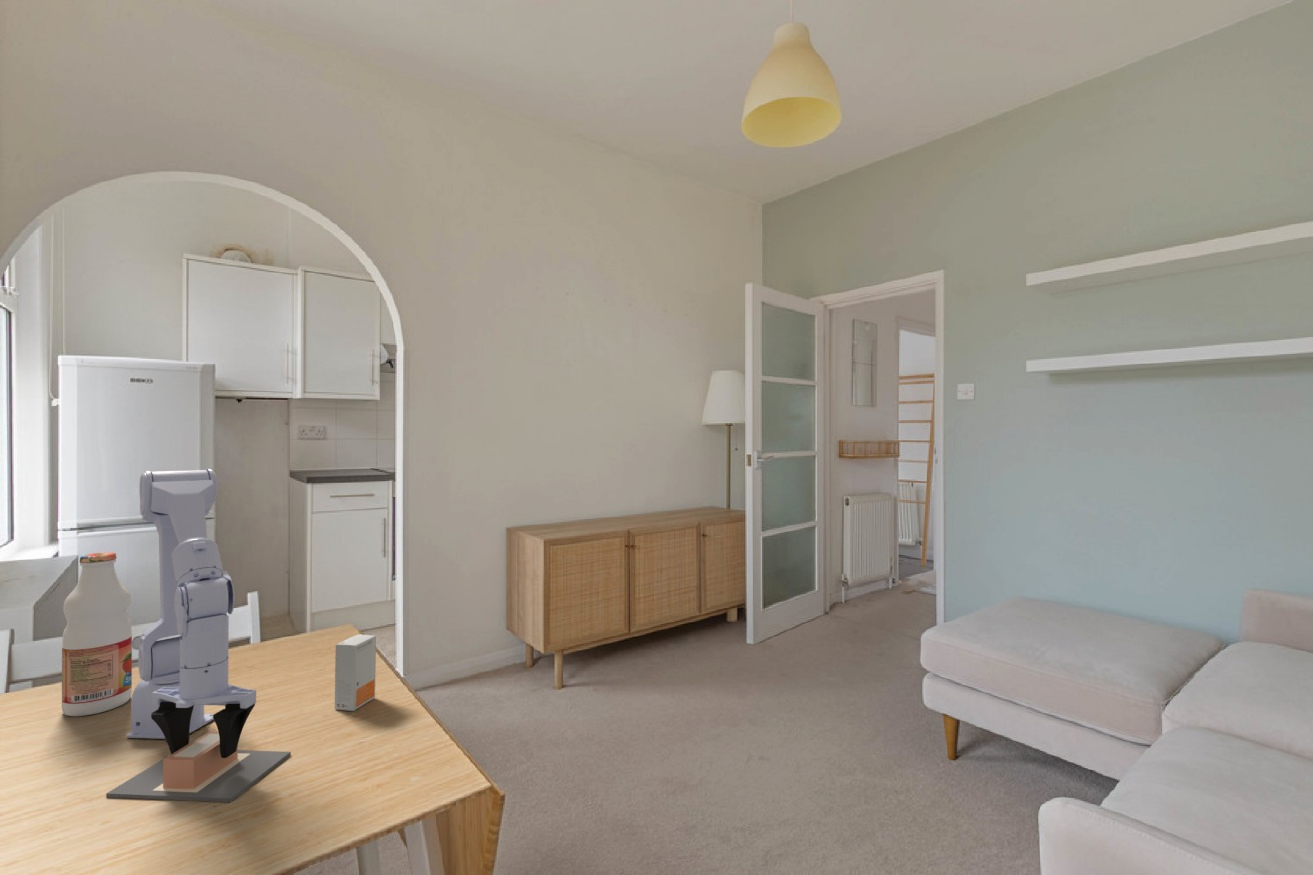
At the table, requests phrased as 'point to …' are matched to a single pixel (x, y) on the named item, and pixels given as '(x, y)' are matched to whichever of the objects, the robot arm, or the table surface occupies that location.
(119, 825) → the table surface
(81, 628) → the fruit juice
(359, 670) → the skincare box
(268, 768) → the charcoal mat
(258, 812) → the table surface
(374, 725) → the table surface
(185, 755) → the pink box with label
